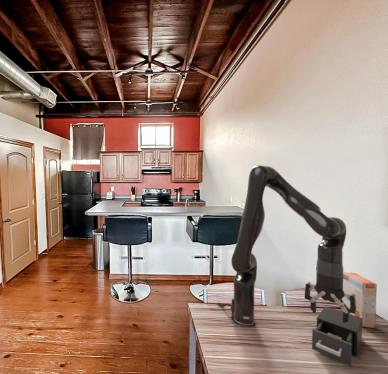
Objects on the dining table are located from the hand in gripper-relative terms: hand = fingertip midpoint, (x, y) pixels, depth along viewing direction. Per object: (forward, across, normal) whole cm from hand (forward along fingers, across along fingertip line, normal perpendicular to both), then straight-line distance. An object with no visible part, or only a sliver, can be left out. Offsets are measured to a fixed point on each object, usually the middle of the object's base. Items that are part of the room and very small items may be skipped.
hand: (328, 316), depth 84 cm
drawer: (+17, 0, -9) cm, 20 cm away
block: (+16, 0, -10) cm, 19 cm away
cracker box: (+18, -4, -49) cm, 52 cm away
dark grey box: (+18, 0, -22) cm, 28 cm away
